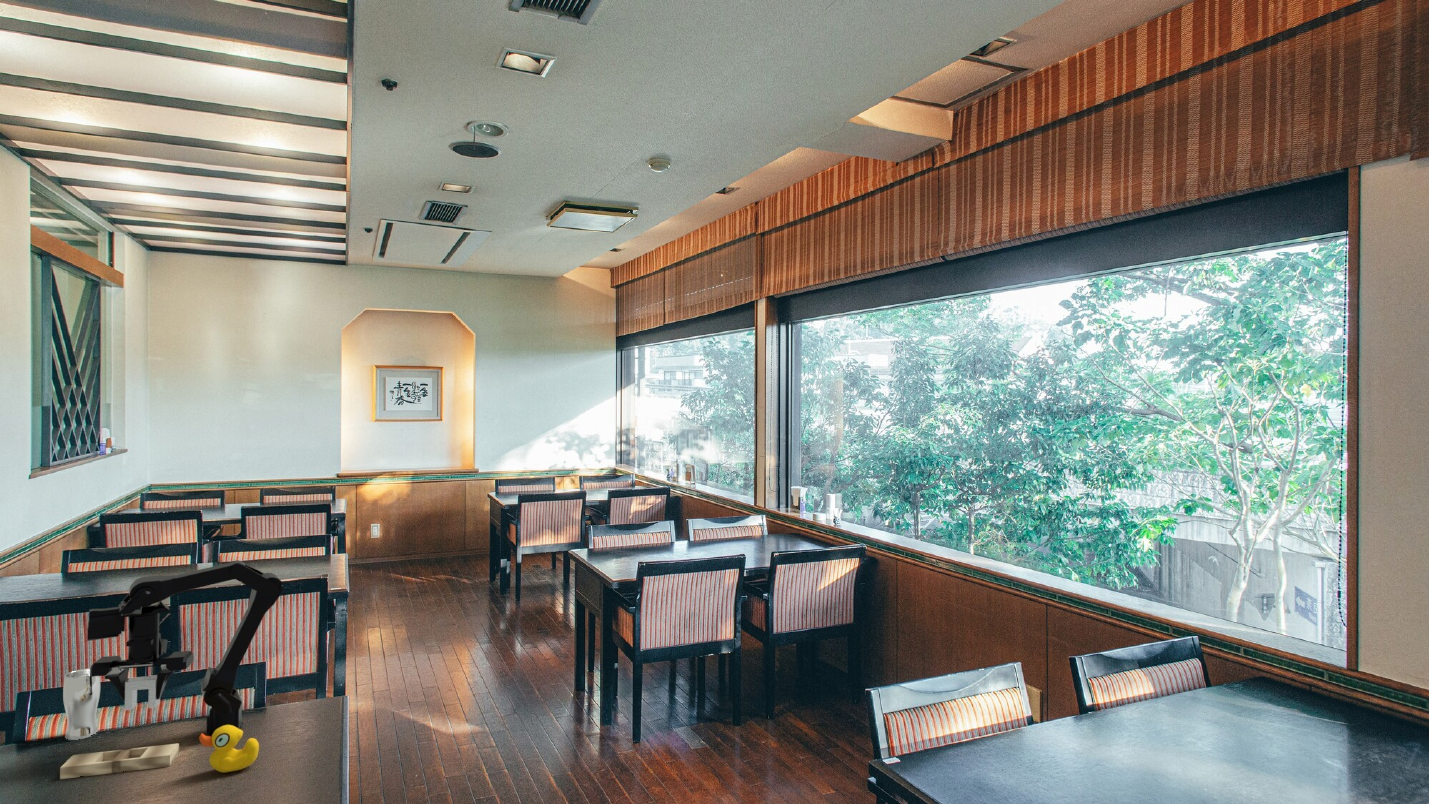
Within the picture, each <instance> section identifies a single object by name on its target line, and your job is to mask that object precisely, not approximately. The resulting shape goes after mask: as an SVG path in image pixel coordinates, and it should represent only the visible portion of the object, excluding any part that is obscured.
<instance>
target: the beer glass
mask: <svg viewBox="0 0 1429 804" xmlns="http://www.w3.org/2000/svg"><path fill="white" fill-rule="evenodd" d="M90 668H91V667H90ZM90 668H88V667H87V668H81V669H75V670H73V671H69V672H67V673H65V675H64V679H63V687H62V691H63V692H62V694H63V695H62V698H63V699H62V700H63V705H64V711H65V715H66V721H67V724H66V725H67V726H66V730H65V734H64V735H65V736H64V739H65V738H66V739H65V740H67V739H68V740H67V741H80V740H84V739H87V738H90V737H92V736H91V735H93V734H95V735H96V734H97V733H98V731H99V730H98V725H97V718H96V716H97V709H98V707H99V706H98V705H99V700H100V696H101V676H94V677H91V676H90ZM96 732H97V733H96ZM93 736H94V735H93ZM79 739H80V740H79Z"/></svg>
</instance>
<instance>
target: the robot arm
mask: <svg viewBox="0 0 1429 804" xmlns="http://www.w3.org/2000/svg"><path fill="white" fill-rule="evenodd" d="M233 580H235V581H238V582H240V583H241V584H243V585H245V586H247V587H248V588H250V589H251V592H250V596H249V600H248V606H247V609H246V610H245V612H244V614H243V617H242V619H241V621H240V623H239V624H238V626H237V628H236V631H235V633H234V635H233V637H232V638H231V641H230V642H229V644H228V645H227V646H228V647H227V648H226V651H225V652H224V654H223V656H222V659H221V660H220V662H219V663H218V664H217V665H216V666H215V667H214V668H213V667H211V666H208V668H207V669H206V672H205V675H204V677H203V679H202V680H201V681H199V683H200V687H201V690H200V691H201V694H202V698H203V699H202V700H203V701H204V703H205V705H207V706H209V707H211V708H210V709H209V711H208V712H209V713H208V715H207V716H206V734H207V735H206V736H210V737H212V735H213V733H214V731H215V730H216V729H218V728H219V727H221V726H224V725H232V726H235V727H237V728H238V729H241V730H242V728H243V726H244V722H243V719H242V715H243V714H242V713H243V709H242V707H243V705H242V703H243V702H242V699H241V696H240V694H239V691H238V690H237V689H236V688H234V687H235V684H236V678H237V673H238V670H239V667H240V665H241V663H242V662H243V661H242V660H244V657H245V655H246V653H247V651H248V649H249V647H250V645H251V643H252V642H253V641H252V640H253V638H254V636H255V635H256V633H257V631H258V629H259V627H260V624H261V622H262V620H263V619H264V616H265V615H266V613H267V612H268V611H269V610H270V609H271V608H272V607H273V606H274V605H275V603H276V602H277V601H278V599H279V598H280V597H281V595H282V593H283V592H284V584H283V581H282V580H281V579H280V577H278V576H277V575H276V574H275V573H272V572H262V571H260V570H259V569H257V568H254V567H253V566H250V565H248V564H246V563H244V562H243V561H242V560H236V559H235V560H232V561H230V562H228V563H227V562H226V563H224V564H223V563H222V564H219V565H214V566H210V567H205V568H201V569H197V570H192V571H188V572H185V573H179V574H174V575H172V574H171V575H161V574H160V575H150V576H141V577H139V578H137V579H134V581H133V582H132V583H131V584H130V586H129V589H128V594H127V595H126V597H124V599H123V600H122V601H120V603H119V604H118V606H115V607H108V608H90V609H89V610H88V611H89V612H88V622H87V627H86V628H87V630H86V631H87V632H86V633H87V635H86V638H87V642H89V641H98V640H105V639H113V638H119V636H120V635H122V632H126V618H128V635H127V636H128V640H127V641H126V643H125V644H126V645H125V646H126V647H128V648H127V653H128V654H127V658H126V659H122V658H121V656H120V655H111V656H110V655H109V656H108V655H107V656H101V657H100V658H99V659H97V660H96V661H94V662H93V663H91V666H90V676H91V677H94V676H100V677H104V680H109V681H110V682H111V684H112V685H113V686H114V688H115V689H116V691H117V692H118V694H119V695H120V697H121V699H122V701H123V702H124V703H125V682H126V681H127V680H128V679H129V674H130V673H129V672H130V669H137V668H138V669H139V668H149V667H150V668H151V667H153V668H154V667H160V668H161V669H160V670H159V671H158V672H157V673H156V676H157V687H156V696H157V699H160V700H161V697H162V695H163V692H164V690H165V687H166V685H167V682H168V680H169V678H170V676H171V675H172V674H174V673H175V672H176V671H184V670H186V669H188V668H189V666H191V664H193V663H194V659H195V657H194V655H195V654H194V653H193V651H191V650H186V651H185V650H182V651H174V652H172V653H171V654H170V655H169V656H165V657H164V656H163V654H167V649H168V640H169V639H165V638H162V634H161V632H160V614H162V613H168V612H170V608H169V606H168V605H166V604H165V603H164V602H163V601H164V600H166V599H168V598H170V597H172V596H174V595H177V594H179V593H183V592H187V591H191V590H195V589H200V588H204V587H207V586H212V585H216V584H220V583H221V584H222V583H224V582H229V581H233ZM160 656H163V657H160Z"/></svg>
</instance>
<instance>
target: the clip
mask: <svg viewBox="0 0 1429 804" xmlns="http://www.w3.org/2000/svg"><path fill="white" fill-rule="evenodd" d="M156 687H157V675H151V676H136V677H135V676H134V677H128V680H127V681H126V682H125V702H124V711H132V710H134V708H135V707H137V706H138V703H137V702H138V690H139V691H141V690H148V703H147V704H148V706H147V707H148V709H156V708H157V707H158V706H159V705H160V703H161V698H160V699H157V696H156Z"/></svg>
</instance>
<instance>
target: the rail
mask: <svg viewBox="0 0 1429 804" xmlns="http://www.w3.org/2000/svg"><path fill="white" fill-rule="evenodd" d="M179 743H180V742H179ZM179 743H170V744H162V745H161V744H159V745H151V746H143V747H134V748H127V749H125V748H124V749H116V750H107V751H99V752H89V753H88V752H87V753H80V754H73V755H72V756H71V757H70V758H68V759H67V760H66V762H64V764H62V765H61V766H60V768H59V780H66V779H72V778H73V779H74V778H81V777H80V776H84V777H91V776H99V775H100V776H101V775H107V774H116V773H123V771H124V773H126V772H134V771H139V770H140V771H141V770H148V769H158V768H167V767H171V766H172V764H173V763H174V761H175V760H176V758H177V757H178V756H179V754H180V744H179ZM125 771H126V772H125Z"/></svg>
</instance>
